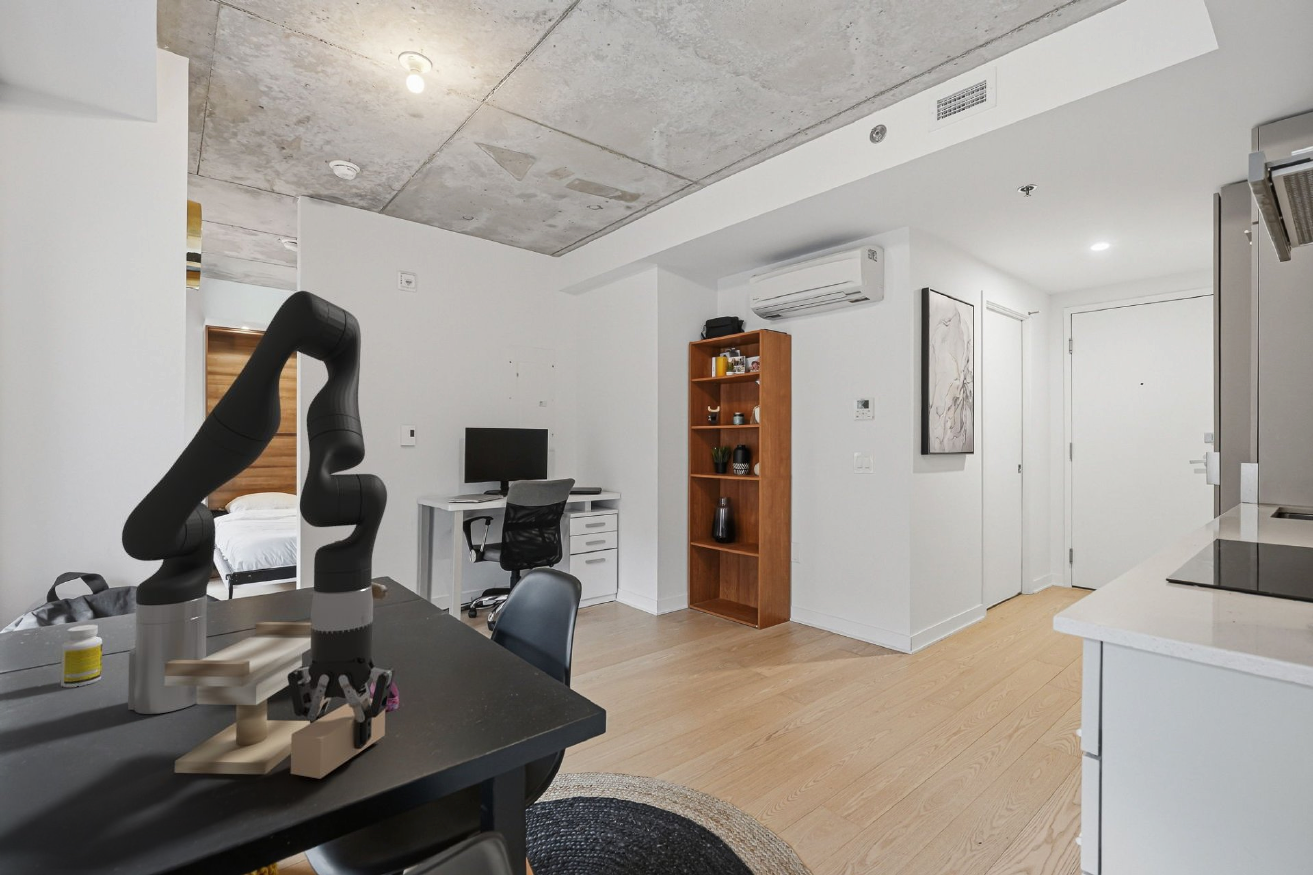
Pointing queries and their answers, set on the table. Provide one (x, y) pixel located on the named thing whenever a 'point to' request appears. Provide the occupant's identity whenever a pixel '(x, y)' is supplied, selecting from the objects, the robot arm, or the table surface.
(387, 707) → the headband
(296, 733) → the tan block
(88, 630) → the supplement bottle
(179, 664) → the display stand
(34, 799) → the table surface
